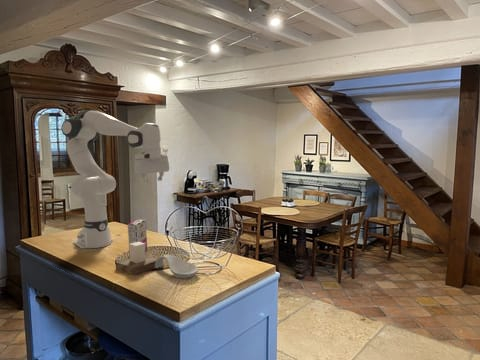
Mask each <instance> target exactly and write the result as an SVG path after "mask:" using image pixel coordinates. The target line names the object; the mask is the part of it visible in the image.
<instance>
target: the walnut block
mask: <svg viewBox="0 0 480 360" xmlns="http://www.w3.org/2000/svg"><path fill="white" fill-rule="evenodd" d="M158 258H159V257H158ZM158 258H156V257H153V256H150V255H149V256H148V255H146V254H145V259H146V260H145V261H142V262H139V263H134V262H132V261H130V256H128V257H127V258H123V259H121V260H118V261H115V270H116V271H119V272H123V273H126V274H129V275H133V276H135V277H137V276H140V275H143V274H145V273H147V272H150V271H152V269H153V268H155V262H156V260H157V259H158ZM153 270H154V269H153Z"/></svg>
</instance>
